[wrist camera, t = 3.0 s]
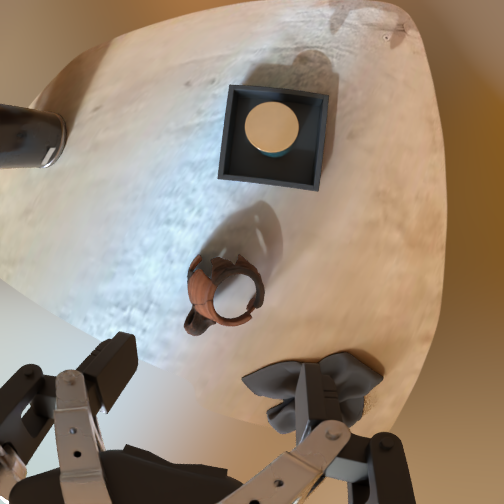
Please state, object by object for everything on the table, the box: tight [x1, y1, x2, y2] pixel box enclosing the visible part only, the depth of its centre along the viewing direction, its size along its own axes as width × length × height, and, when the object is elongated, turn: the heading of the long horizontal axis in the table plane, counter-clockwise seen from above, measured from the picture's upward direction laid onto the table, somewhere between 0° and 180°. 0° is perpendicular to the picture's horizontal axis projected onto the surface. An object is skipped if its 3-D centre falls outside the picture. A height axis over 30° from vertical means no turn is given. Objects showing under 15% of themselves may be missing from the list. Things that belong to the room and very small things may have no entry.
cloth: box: [242, 353, 383, 434], centre depth 39 cm, size 22×19×6 cm
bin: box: [218, 85, 329, 191], centre depth 32 cm, size 11×11×4 cm
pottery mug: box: [184, 254, 265, 336], centre depth 37 cm, size 12×10×8 cm
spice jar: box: [245, 102, 299, 158], centre depth 29 cm, size 5×5×8 cm
